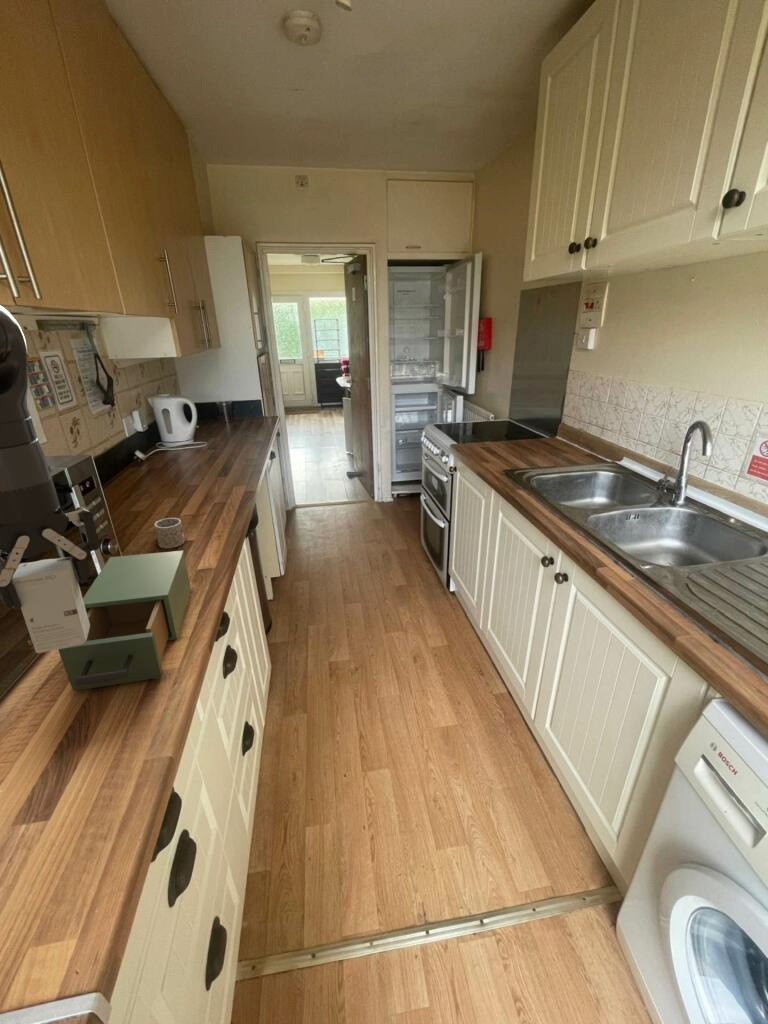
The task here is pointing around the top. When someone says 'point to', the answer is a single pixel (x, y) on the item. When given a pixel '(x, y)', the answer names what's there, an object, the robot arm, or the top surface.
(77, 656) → the drawer
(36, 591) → the cosmetic box
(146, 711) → the top surface
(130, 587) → the cabinet
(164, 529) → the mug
